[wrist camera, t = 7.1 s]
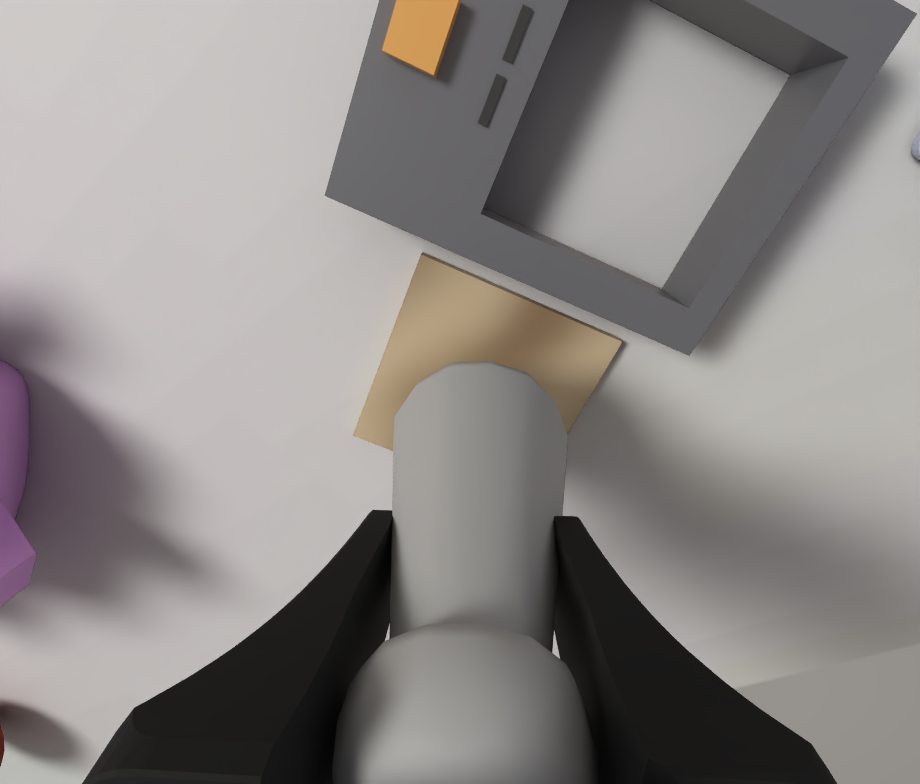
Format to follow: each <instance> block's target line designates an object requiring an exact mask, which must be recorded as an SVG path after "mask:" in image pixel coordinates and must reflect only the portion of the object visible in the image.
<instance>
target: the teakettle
mask: <svg viewBox="0 0 920 784" xmlns="http://www.w3.org/2000/svg"><path fill="white" fill-rule="evenodd" d="M29 435H30V410H29V396H28V391H27V385H26V383H25V381H24V378H23V376H22V375H21V374H20V373H19V371H18V370H16V369H15V368H13V367H12V366H10V365H9V364H7V363H6V362H4V361H2V360H0V606H2V605H3V604H4V603H5V602H7V601H8V600H9V599H11V598H12V597H13V596H15V595H16V594H17V593H19V592H20V591H21V590H22V589H24V588H25V587H26V586H28V585H29V584H30V580H31V575H32V571H33V567H34V562H35V558H36V554H37V553H36V552H35V550H34V549H33V547H32V546H31V544H30V543H29V541H28V540H27V538H26V537H25V535H24V534H23V532H22V531H21V529H20V527H19V526H18V524H17V523H16V521H15V518H16V515H17V512H18V508H19V505H20V502H21V499H22V495H23V492H24V487H25V482H26V477H27V469H28V458H29Z"/></svg>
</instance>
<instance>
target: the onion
mask: <svg viewBox="0 0 920 784" xmlns="http://www.w3.org/2000/svg"><path fill="white" fill-rule="evenodd" d="M3 755H4V737H3V733H2V729H1V726H0V766H1V763H2V759H3Z"/></svg>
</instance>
